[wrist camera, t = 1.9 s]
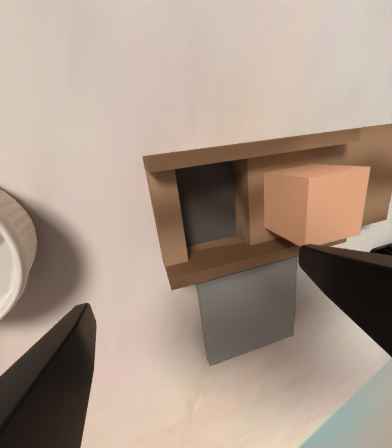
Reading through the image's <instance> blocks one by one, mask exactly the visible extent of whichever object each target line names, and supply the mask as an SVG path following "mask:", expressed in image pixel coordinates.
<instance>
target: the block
mask: <svg viewBox="0 0 392 448" xmlns="http://www.w3.org/2000/svg"><path fill="white" fill-rule="evenodd" d="M369 174H370V167H367V166H345V165H324V164H310V165H304V166H298V167H293V168H287V169H281V170H275V171H269V172H264V226H265V228H267V229H268V230H270V231H272V232H274V233H276V234H278V235H280V236H281V237H283V238H285V239H287V240H289V241H291V242H292V243H294V244H296V245H298V246H300V247H301V246H302V245H306V244H314V245H322V244H326V243H329V242H333V241H337V240H341V239H344V238H348V237H352V236H355V235H359V234H360V232H361V226H362V219H363V213H364V206H365V200H366V193H367V187H368V180H369Z"/></svg>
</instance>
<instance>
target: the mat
mask: <svg viewBox="0 0 392 448" xmlns="http://www.w3.org/2000/svg"><path fill="white" fill-rule="evenodd" d="M296 271H297V256H294V257H290V258H286V259H283V260H279V261H276V262H272V263H268V264H265V265H261V266H258V267H254V268H250V269H247V270H243V271H240V272H236V273H232V274H229V275H225V276H222V277H218V278H214V279H211V280H207V281H204V282H200V283H196V285H197V292H198V299H199V306H200V313H201V320H202V327H203V334H204V341H205V348H206V355H207V360H208V363H209V365H210V366H212V365H215V364H217V363H220V362H223V361H225V360H228V359H231V358H233V357H236V356H239V355H241V354H244V353H247V352H249V351H252V350H255V349H257V348H260V347H263V346H265V345H268V344H271V343H273V342H276V341H279V340H282V339H284V338H287V337H290V336H292V335H294V315H295V293H296Z"/></svg>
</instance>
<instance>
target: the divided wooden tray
mask: <svg viewBox="0 0 392 448" xmlns="http://www.w3.org/2000/svg"><path fill="white" fill-rule="evenodd" d="M143 161H144V166H145V171H146V176H147V181H148V186H149V192H150V197H151V202H152V207H153V212H154V217H155V222H156V227H157V232H158V237H159V242H160V247H161V252H162V257H163V262H164V265H165V269H166V272H167V276H168V279H169V283H170V286H171V289H172V290H175V289H178V288H182V287H186V286H189V285H193V284H196V283H200V282H204V281H207V280H211V279H214V278H218V277H222V276H225V275H229V274H232V273H236V272H240V271H243V270H247V269H250V268H254V267H258V266H261V265H265V264H268V263H272V262H276V261H279V260H283V259H286V258H290V257H294V256H297V255H299V248H300V246H298V245H296V244H294V243H292V242H291V241H289V240H287V239H285V238H283V237H281V236H280V235H278V234H276V233H274V232H272V231H270V230H268V229H267V228H265V226H264V172H269V171H275V170H281V169H287V168H293V167H298V166H304V165H310V164H324V165H345V166H367V167H370V174H369V180H368V187H367V193H366V200H365V206H364V213H363V219H362V226H364V225H368V224H371V223H375V222H379V221H383V220H386V219H387V214H388V209H389V203H390V198H391V193H392V124H386V125H378V126H370V127H363V128H355V129H347V130H340V131H332V132H324V133H317V134H309V135H301V136H294V137H286V138H278V139H271V140H263V141H255V142H248V143H240V144H233V145H225V146H217V147H210V148H202V149H194V150H187V151H179V152H171V153H164V154H156V155H148V156H143ZM346 239H347V238H344V239H341V240H337V241H333V242H329V243H326V244H322V245H321V246H328V247H330V246H333V245H337V244H340V243H344V242H346Z"/></svg>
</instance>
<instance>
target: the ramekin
mask: <svg viewBox="0 0 392 448" xmlns="http://www.w3.org/2000/svg"><path fill="white" fill-rule="evenodd" d="M36 252H37V236H36V232H35V227H34V225H33V223H32V220H31V218H30V217H29V216H28V214H27V212H26V211H25V210H24V209H23V208H22V206H21V205H20V204H19V203H17V201H16V200H15V199H14V198H12V197H11V196H9V195H8V194H7V193H6V192H4V191H2V190H1V189H0V321H1V320H2V319H3V318H4V317H5V316H6V315H7V314H8V313H9V312H10V311H11V309H12V308H13V307H14V306H15V304H16V303H17V302H18V300H19V299H20V297H21V296H22V294H23V292H24V290H25V287H26V284H27V281H28V274H29V272H30V269H31V267H32V265H33V262H34V260H35V257H36Z"/></svg>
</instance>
